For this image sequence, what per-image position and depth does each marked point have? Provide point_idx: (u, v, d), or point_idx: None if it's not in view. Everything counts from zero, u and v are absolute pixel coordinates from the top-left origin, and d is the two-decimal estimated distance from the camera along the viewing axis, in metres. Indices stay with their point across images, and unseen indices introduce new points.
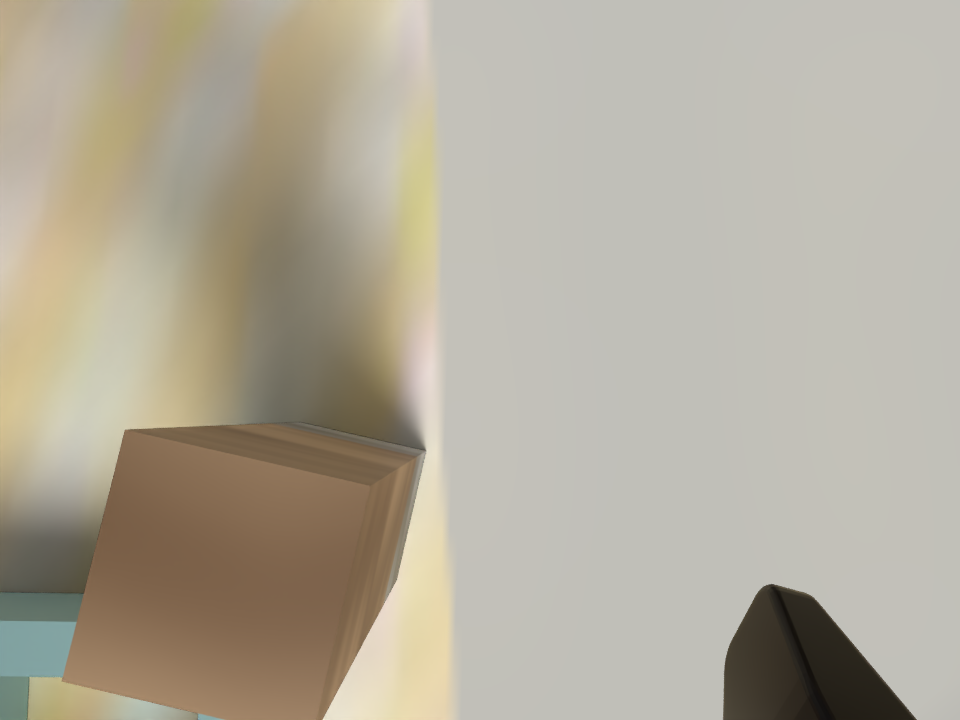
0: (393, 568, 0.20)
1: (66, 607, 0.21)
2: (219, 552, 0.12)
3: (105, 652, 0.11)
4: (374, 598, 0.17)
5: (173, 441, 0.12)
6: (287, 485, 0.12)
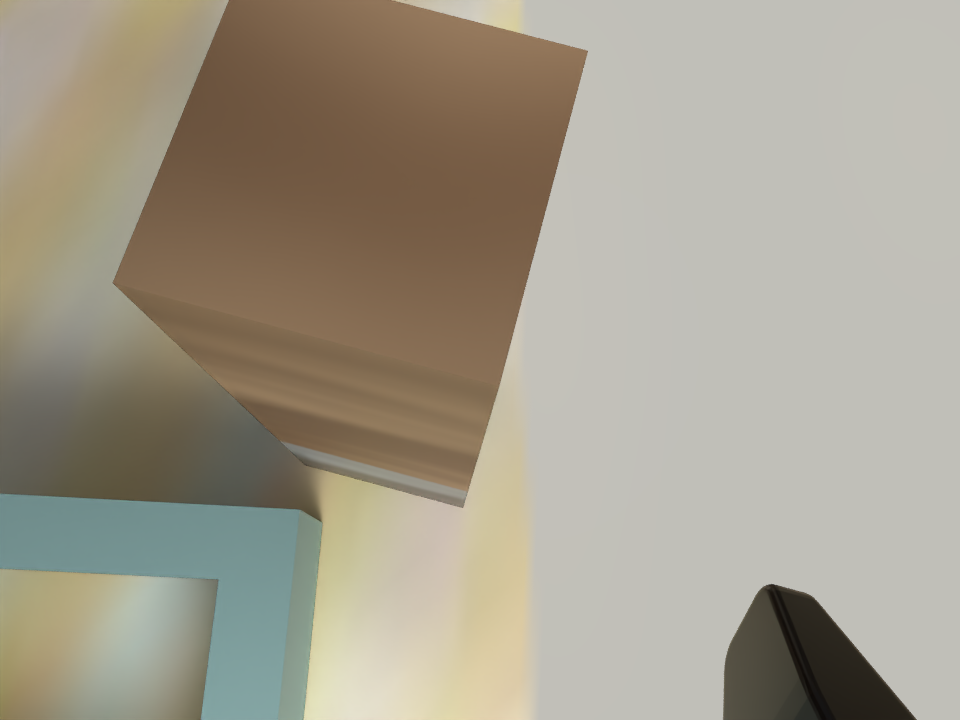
0: None
1: None
2: (368, 121, 0.08)
3: (186, 245, 0.07)
4: None
5: None
6: (470, 44, 0.08)
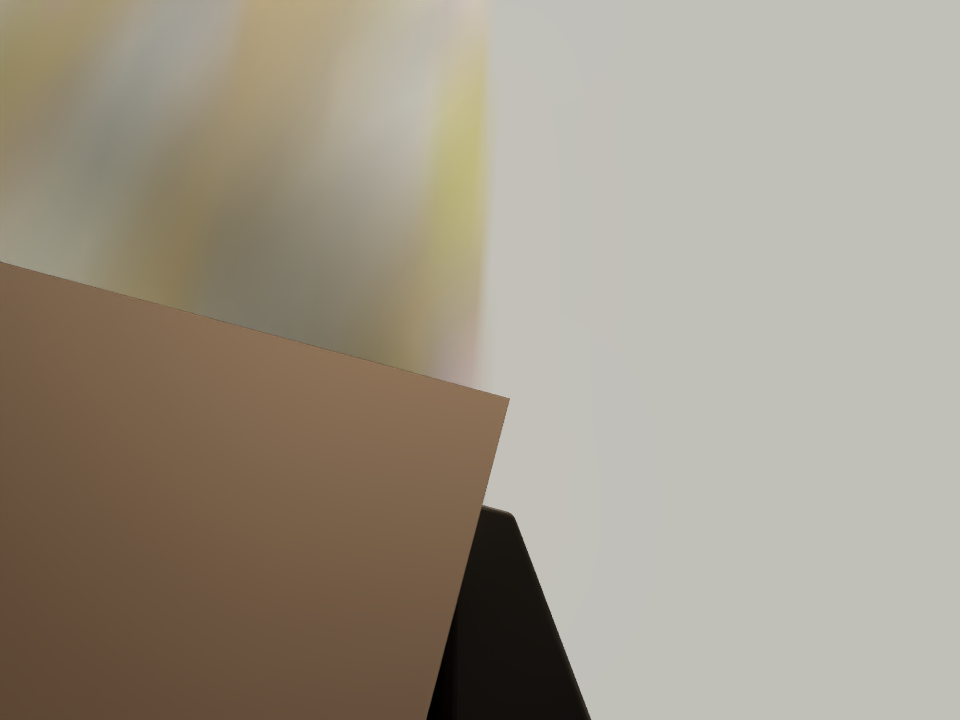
0: None
1: None
2: None
3: None
4: None
5: None
6: (240, 386, 0.04)
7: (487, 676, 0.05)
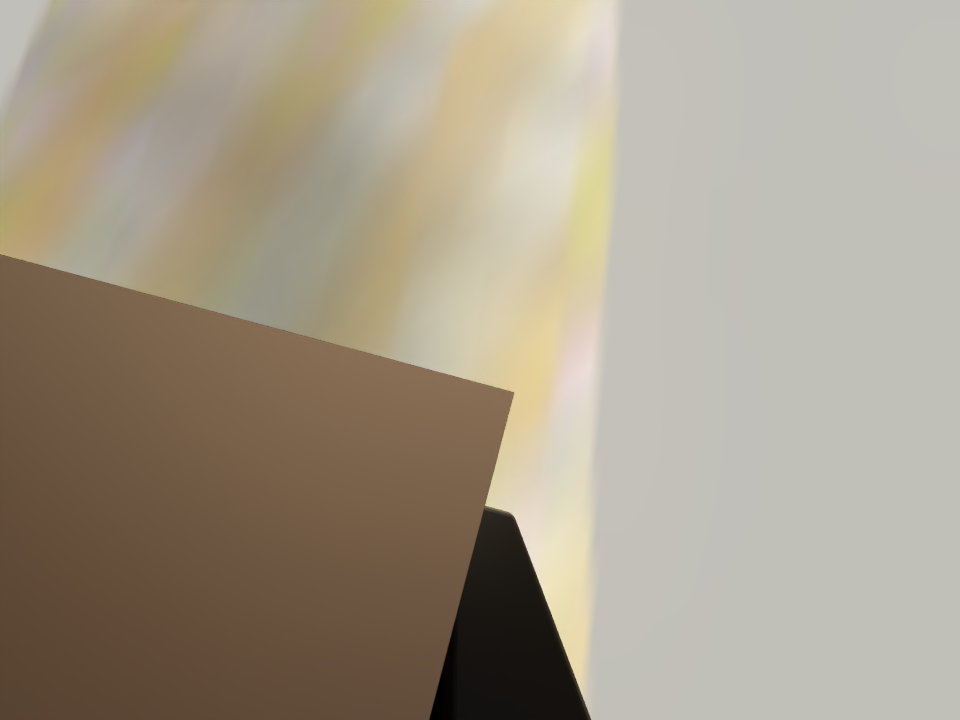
0: None
1: None
2: None
3: None
4: None
5: None
6: (242, 379, 0.04)
7: (487, 676, 0.05)
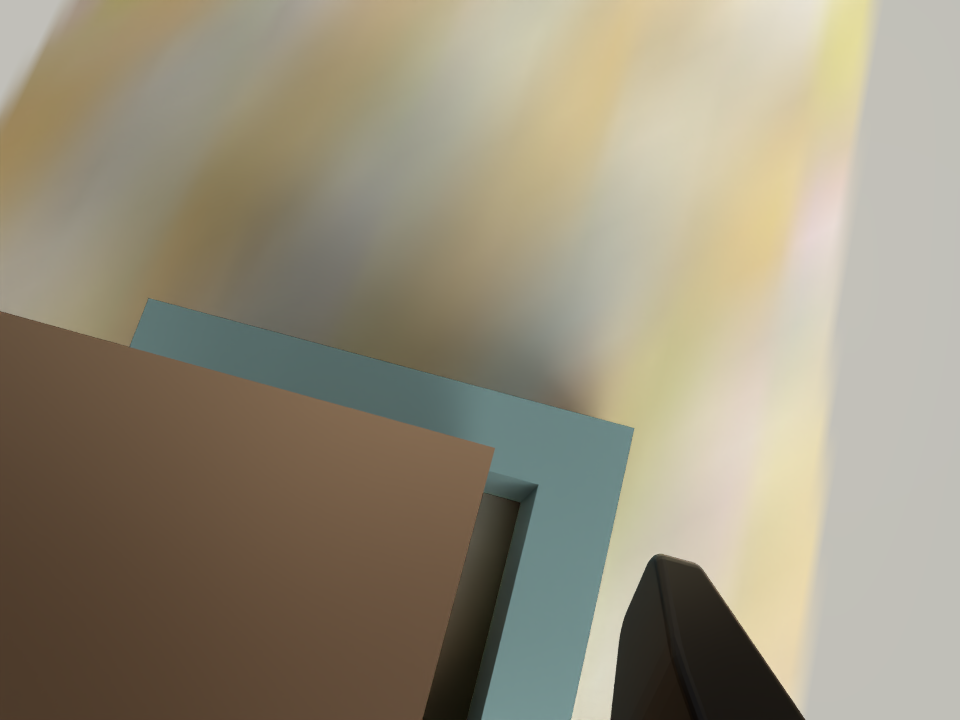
0: None
1: None
2: (118, 589, 0.05)
3: None
4: None
5: (46, 325, 0.05)
6: (300, 437, 0.05)
7: None
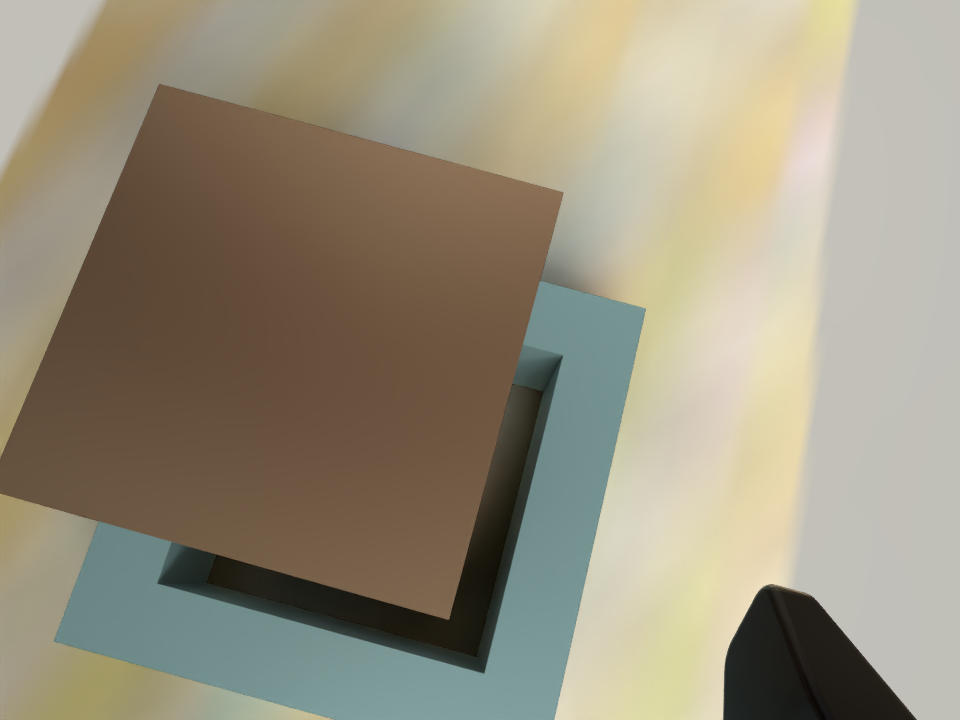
0: None
1: None
2: (300, 282, 0.07)
3: (78, 441, 0.06)
4: None
5: (238, 106, 0.07)
6: (425, 183, 0.07)
7: None
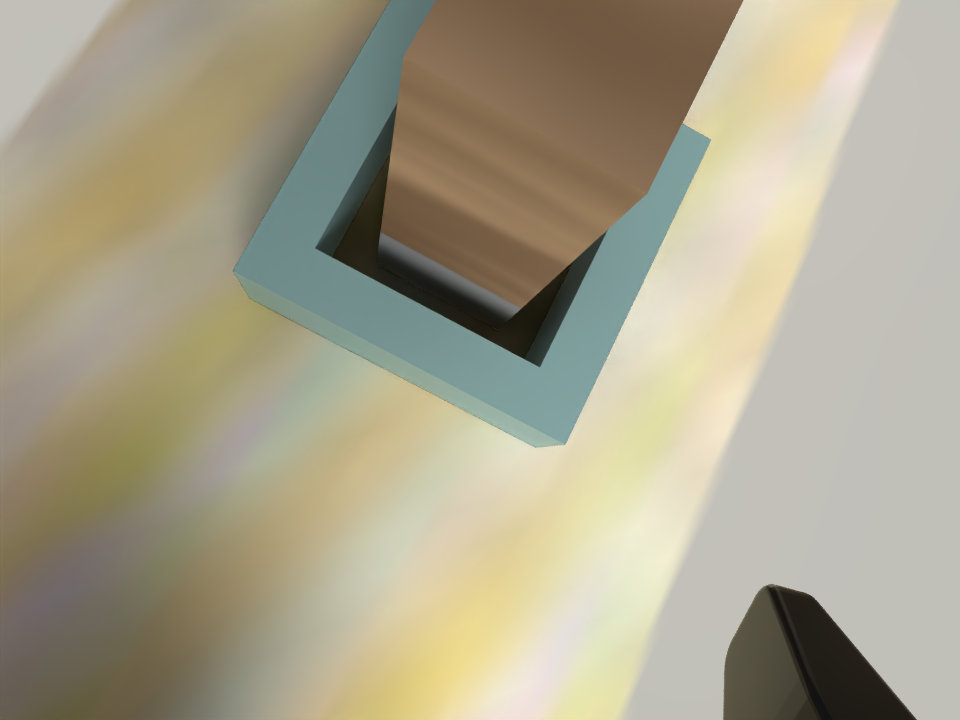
0: None
1: None
2: None
3: (457, 42, 0.11)
4: None
5: None
6: None
7: None
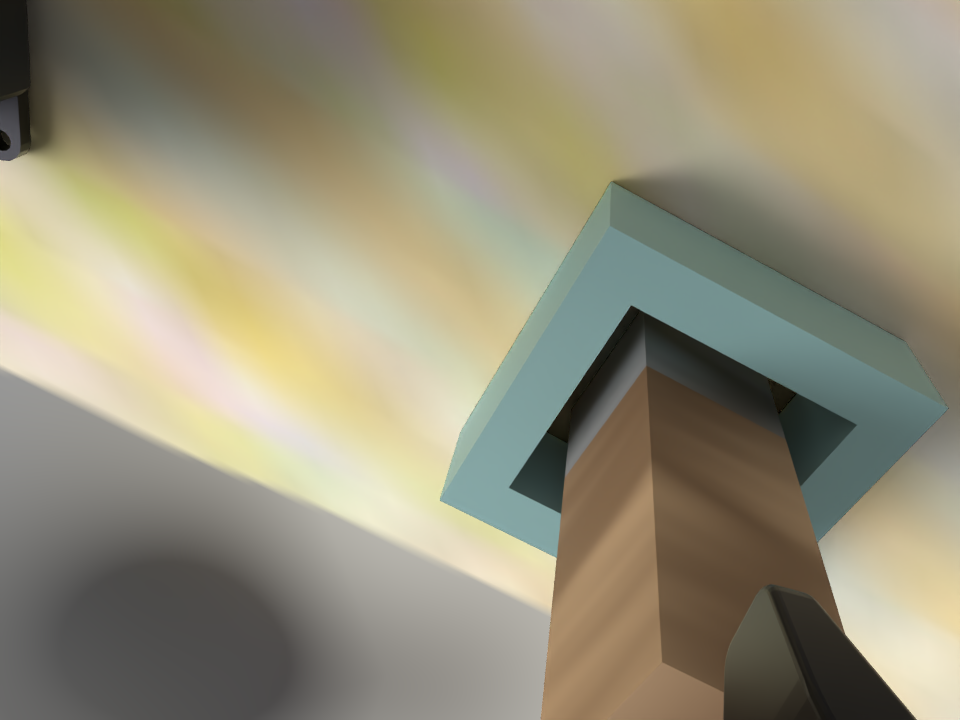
0: None
1: None
2: None
3: (674, 699, 0.11)
4: None
5: None
6: None
7: None
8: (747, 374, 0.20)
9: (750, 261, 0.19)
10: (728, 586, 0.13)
